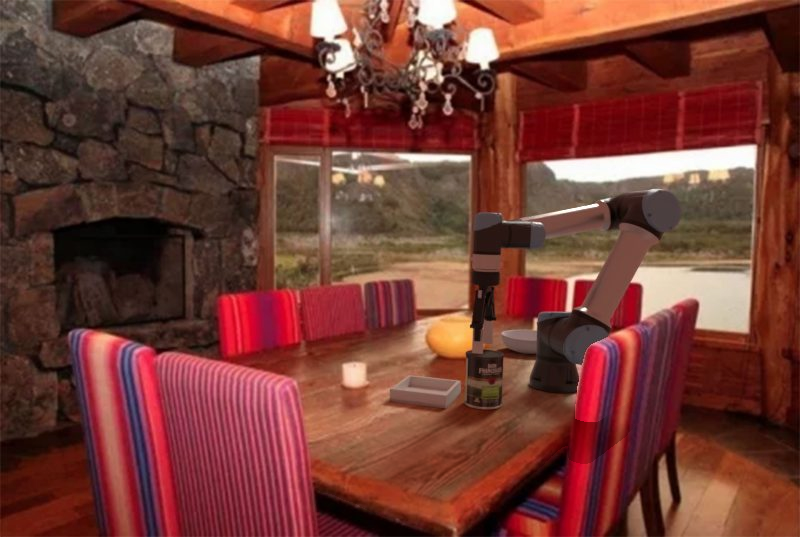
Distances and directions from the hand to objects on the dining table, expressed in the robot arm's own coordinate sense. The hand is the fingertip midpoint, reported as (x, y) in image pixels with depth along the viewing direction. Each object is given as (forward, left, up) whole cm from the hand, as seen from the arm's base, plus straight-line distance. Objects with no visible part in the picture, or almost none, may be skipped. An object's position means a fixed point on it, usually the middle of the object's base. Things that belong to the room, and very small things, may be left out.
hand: (482, 348), depth 158 cm
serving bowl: (-3, -73, -16) cm, 75 cm away
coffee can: (-1, 0, -16) cm, 16 cm away
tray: (+16, 0, -15) cm, 22 cm away
